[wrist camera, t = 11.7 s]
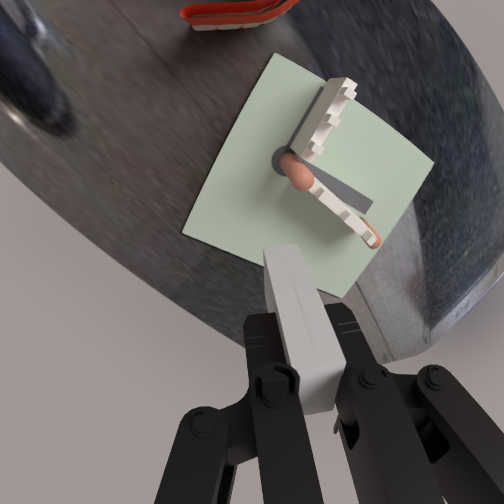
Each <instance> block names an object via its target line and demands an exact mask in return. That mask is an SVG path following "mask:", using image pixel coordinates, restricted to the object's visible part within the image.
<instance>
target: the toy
mask: <svg viewBox="0 0 504 504" xmlns="http://www.w3.org/2000/svg"><path fill="white" fill-rule="evenodd" d="M298 1H299V0H256V1H248V2H227V3H202V4H193V5H189V6H186V7H184V8H182V9H181V10H180V16H181V17H182V18H184V19H185V20H186V21H187V22H188V23H189V24H191V25H192V28H193V29H194V30H195V31H205V30H226V29H242V28H252V27H257V26H259V25H260V24H267V23H269V22H272V21H273V20H275V19H276V17H277V16H280V15H282V14H283V13H285V12H286V11H287V10H289V9H290V8H291V7H292V6H293V5H294V4H295V3H297V2H298Z"/></svg>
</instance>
